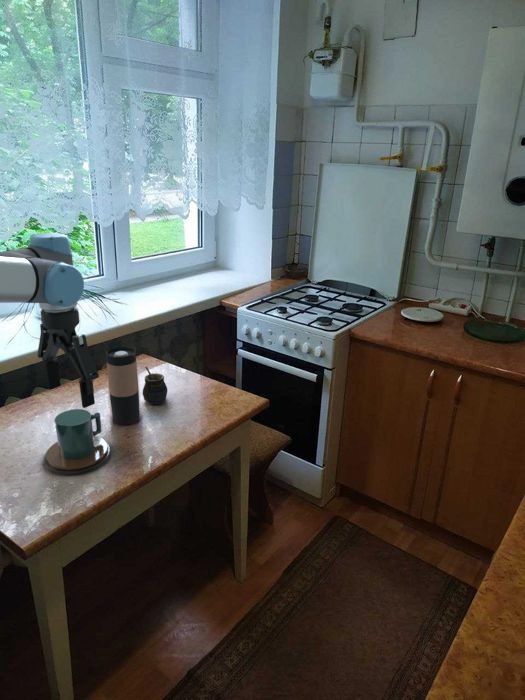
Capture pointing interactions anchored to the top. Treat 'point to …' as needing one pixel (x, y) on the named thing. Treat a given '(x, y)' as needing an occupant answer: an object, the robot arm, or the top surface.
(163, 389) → the mate gourd
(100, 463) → the base
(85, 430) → the tea cup
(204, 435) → the top surface
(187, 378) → the top surface
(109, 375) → the travel mug
